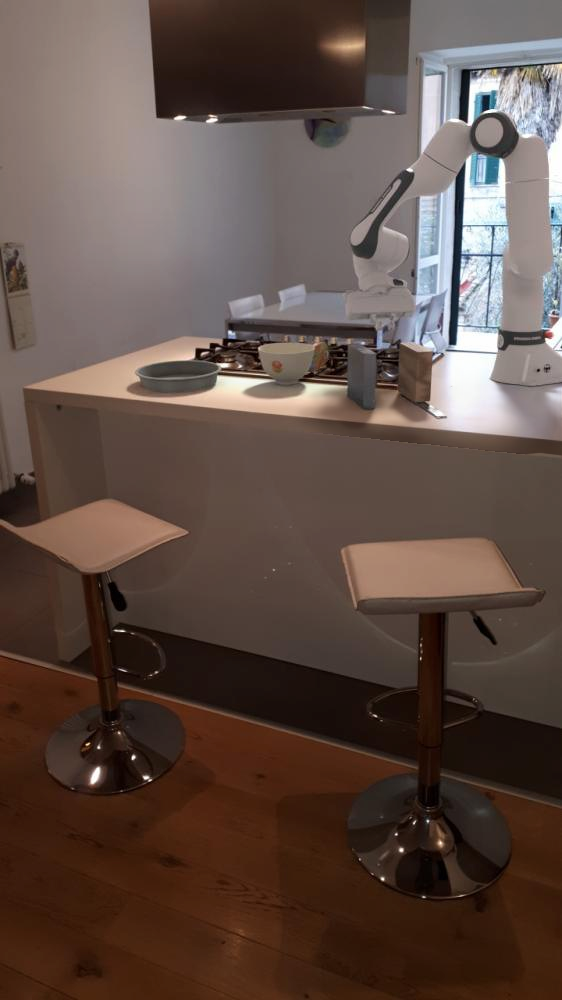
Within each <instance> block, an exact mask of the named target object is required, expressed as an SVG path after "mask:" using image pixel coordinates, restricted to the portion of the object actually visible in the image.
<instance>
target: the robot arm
mask: <svg viewBox="0 0 562 1000" xmlns="http://www.w3.org/2000/svg"><path fill="white" fill-rule="evenodd" d="M476 153H477V154H481V155H482V156H484V157H488V158H495V159H496V158H497V159H501V160H502V163H503V165H504V175H505V176H504V177H505V178H504V179H505V181H504V183H505V185H504V186H505V187H504V188H505V189H504V190H505V194H504V195H505V197H504V198H505V219H506V224H507V225H506V226H507V234H508V235H507V236H508V242H506V244H505V247H504V248H503V251H502V252H503V253H502V271H501V272H502V275H501V276H502V277H501V279H502V280H501V282H502V283H501V284H502V285H501V287H502V289H501V290H502V291H501V292H502V302H501V303H502V304H501V314H500V326H499V328H498V331H497V332H498V333H497V334H498V335H497V339H496V340H497V343H496V345H497V347H496V348H497V352H496V356H495V360H494V365H493V368H492V371H491V374H490V377H489V378H490V379H491V380H492V381H496V382H499V383H503V384H511V385H512V384H513V385H521V386H528V387H535V386H542V385H551V384H556V383H557V384H559V383H562V354H560V353H559V352H557V351H556V350H555V349H554V348H553V347H552V346H550V345H549V344H548V343H547V340H546V339H548V340H552V339H553V338H554V337H555V334H554V332H553V331H549V330H547V331H546V330H544V329H542V326H543V325H542V324H543V316H544V305H545V298H544V297H545V296H544V282H543V281H544V278H543V277H544V276H546V275H548V273H549V272H550V271H551V269H552V267H553V264H554V261H555V260H554V259H555V258H554V249H553V237H552V225H551V223H552V222H551V218H550V169H549V168H550V167H549V166H550V165H549V155H548V149H547V144H546V142H545V139H543V138H542V137H541V135H540V136H539V135H537V134H533V133H532V134H530V133H528V134H522V133H520V132H519V131H518V127H517V123H516V121H515V120H514V118H513V117H512V116H511V115H510V114H509V113H508V112H505V111H503V110H499V109H489V110H485V111H483V112H481V113H480V114H478V116H476V118H475V119H474V121H473V122H472V123H467V122H465V121H464V120H461V119H459V118H458V119H457V118H451V119H447V120H445V121H444V122H443V123H442V124H441V126H440V127H439V128H438V129H437V131H436V132H435V133H434V135H433V136H432V138H431V139H430V140H429V142H428V143H427V144H426V146H425V148H424V149H423V152H422V153H421V155H420V156H419V157H418V159H417V160H416V161H415V162H414V163H413V164H412V165H410V166H409V167H408V168H407V169H403V170H401V171H400V172H399V173H398V174H397V175H395V177H394V179H393V180H391V182H390V183H389V185H388V186H387V187H386V188H385V190H384V191H383V192H382V194H380V196H379V198H378V199H377V200H376V202H375V203H374V204H373V205H372V207H371V208H370V210H369V211H368V212H367V213H366V215H365V216H364V217H363V218H361V219H360V221H359V222H358V223H357V224H356V225H355V226H354V227H353V229H352V231H351V232H350V235H349V245H350V249H351V252H352V262H353V267H354V272H355V275H356V277H357V278H358V282H357V283H358V287H359V289H353V290H352V289H350V290H349V289H347V290H346V291H345V292H343V293H342V297H341V298H342V300H343V303H344V304H345V305H344V306H345V307H344V308H345V315H346V316H345V317H346V318H347V319H348V320H349V321H359V320H360V321H362V320H369V322H370V323H371V324H372V325H373V326H374V328H375V331H376V332H377V331H382V330H383V323H382V321H378V320H382V319H383V320H384V319H389V321H388V324H387V328H388V331H394V330H395V328H396V324H395V321H396V319H399V318H400V319H401V318H412V317H413V316H414V315H415V312H416V310H417V305H416V302H415V298H414V296H413V294H412V292H411V291H410V289H408V288H407V287H408V282H407V281H406V280H404V279H399V278H395V277H392V276H389V273H392V272H393V271H395V270H397V269H398V268H399V267H401V266H402V265H403V264H404V263H405V262H406V261H407V260H408V258H409V256H410V255H409V254H410V251H411V246H410V245H411V244H410V243H411V242H410V240H409V238H408V237H407V236H406V235H405V234H403V233H400V232H399V231H396V230H394V229H390V228H388V227H386V226H385V225H386V224H387V222H388V221H389V220H390V218H391V217H392V216H393V215H394V213H395V212H396V211H397V210H398V208H399V206H401V204H402V203H404V202H405V201H407V200H409V199H413V198H417V197H434V196H438V195H440V194H442V193H445V192H446V190H448V188H450V187H451V185H452V184H453V182H454V181H455V179H456V177H457V176H458V174H459V172H460V171H461V169H462V168H463V166H464V164H465V163H466V162H467V160H468V159H469V157H471V156H472V155H474V154H476Z"/></svg>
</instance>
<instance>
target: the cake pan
mask: <svg viewBox="0 0 562 1000" xmlns="http://www.w3.org/2000/svg"><path fill="white" fill-rule="evenodd" d="M221 371H222V367H221V365H219V364H218V363H215V362H211V361H205V360H193V359H191V360H190V359H189V360H188V359H187V360H186V359H184V360H169V361H167V360H166V361H158V362H155V363H149V364H146V365H143V366H141V367H138V368H136V369H135V371H134V374H135V376H137V377H138V378H139V380H140V382H141V386H142V388H144V389H145V390H149V391H152V392H158V393H187V392H195V391H202V390H205V389H208V388H212V387H213V386H215V385H216V384H217V381H218V374H219V373H220V372H221Z"/></svg>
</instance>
